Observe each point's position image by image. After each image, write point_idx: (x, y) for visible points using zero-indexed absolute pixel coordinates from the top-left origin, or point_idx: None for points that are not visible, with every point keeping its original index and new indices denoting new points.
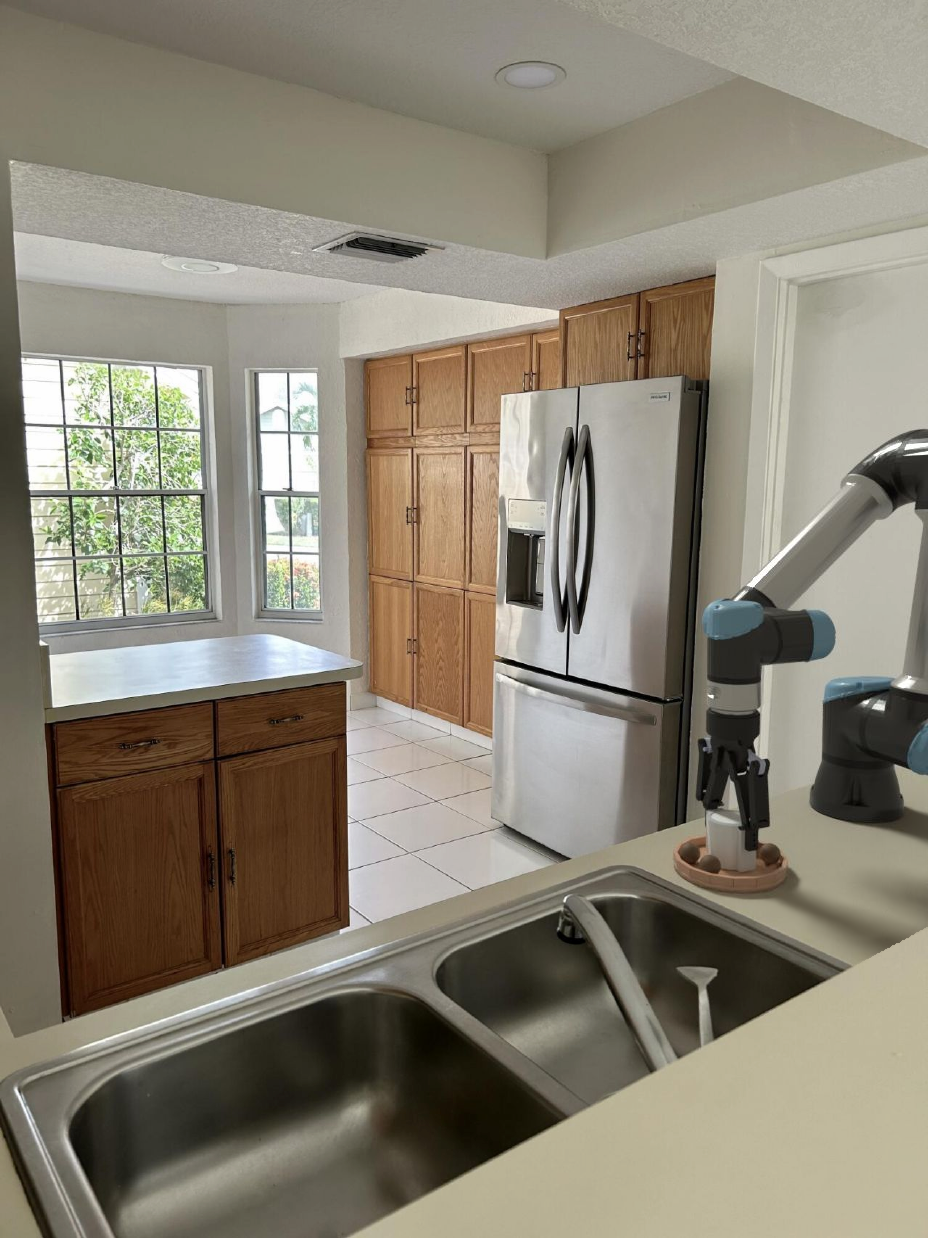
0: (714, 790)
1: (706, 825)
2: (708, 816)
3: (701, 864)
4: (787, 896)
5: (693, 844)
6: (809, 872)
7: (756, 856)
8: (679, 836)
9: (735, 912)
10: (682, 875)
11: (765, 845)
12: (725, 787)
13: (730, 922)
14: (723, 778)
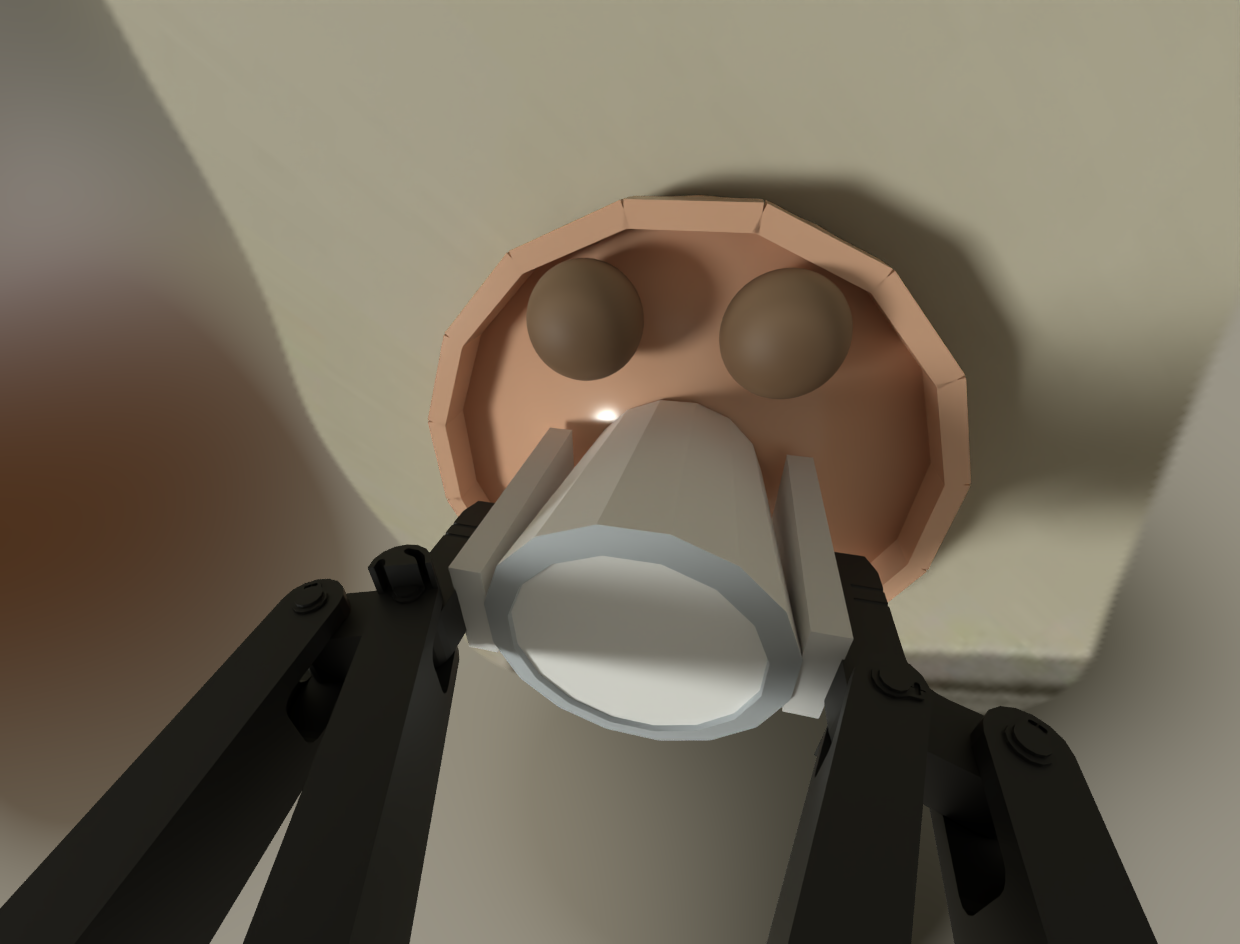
0: (427, 794)
1: None
2: (570, 709)
3: None
4: (1035, 448)
5: None
6: (961, 93)
7: (674, 317)
8: (329, 399)
9: (949, 655)
10: None
11: (772, 383)
12: (395, 752)
13: (981, 699)
14: (374, 929)
